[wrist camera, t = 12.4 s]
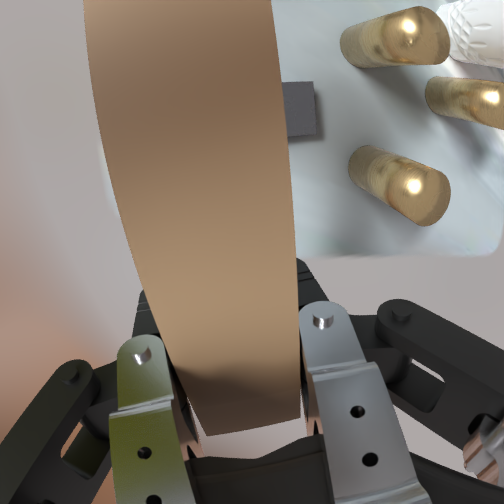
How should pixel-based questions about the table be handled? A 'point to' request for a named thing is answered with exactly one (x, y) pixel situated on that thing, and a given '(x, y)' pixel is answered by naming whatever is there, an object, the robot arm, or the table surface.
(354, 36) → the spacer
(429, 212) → the cylinder
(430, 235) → the table surface
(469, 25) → the white cup
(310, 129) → the grey square block
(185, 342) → the rake
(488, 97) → the cylinder
